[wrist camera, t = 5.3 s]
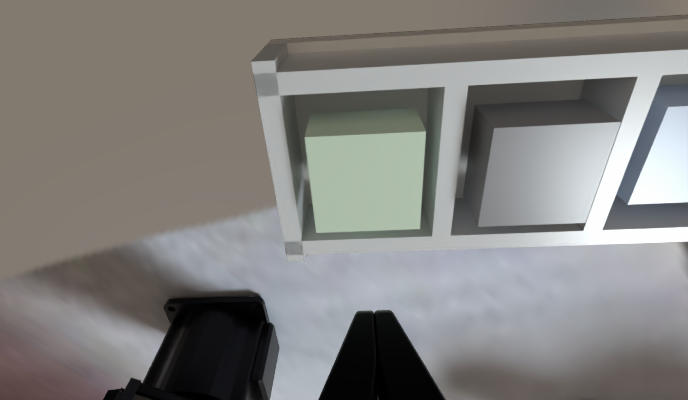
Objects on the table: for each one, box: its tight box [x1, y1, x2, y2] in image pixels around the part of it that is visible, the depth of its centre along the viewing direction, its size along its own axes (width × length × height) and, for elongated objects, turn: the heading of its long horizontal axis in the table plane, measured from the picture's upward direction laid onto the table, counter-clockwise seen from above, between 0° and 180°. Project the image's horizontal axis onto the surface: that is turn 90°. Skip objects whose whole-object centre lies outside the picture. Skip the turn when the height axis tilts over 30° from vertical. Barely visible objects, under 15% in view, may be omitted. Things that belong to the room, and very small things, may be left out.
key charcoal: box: [463, 99, 621, 227], centre depth 15 cm, size 4×4×2 cm
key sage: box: [304, 108, 426, 233], centre depth 15 cm, size 4×4×2 cm
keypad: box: [251, 15, 688, 262], centre depth 16 cm, size 27×9×4 cm, turn 93°
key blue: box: [616, 84, 688, 205], centre depth 16 cm, size 4×4×2 cm
